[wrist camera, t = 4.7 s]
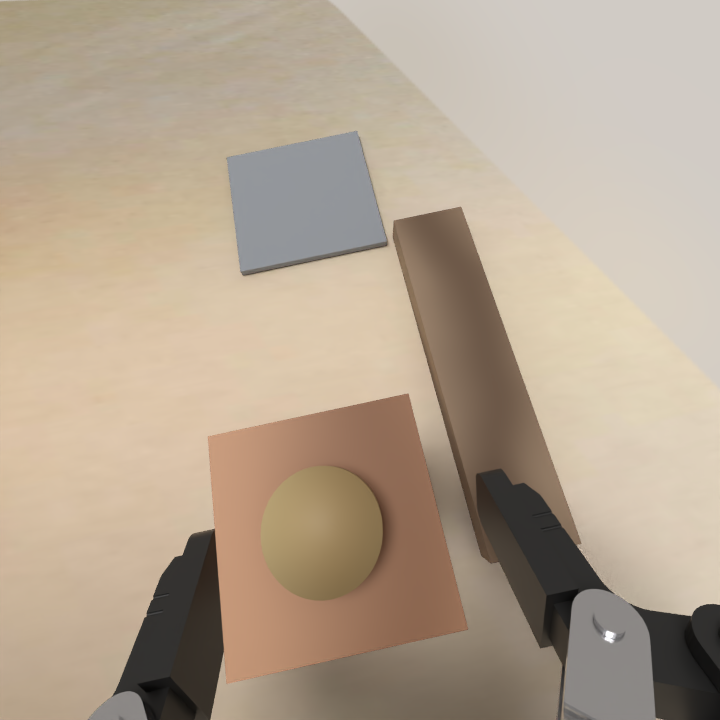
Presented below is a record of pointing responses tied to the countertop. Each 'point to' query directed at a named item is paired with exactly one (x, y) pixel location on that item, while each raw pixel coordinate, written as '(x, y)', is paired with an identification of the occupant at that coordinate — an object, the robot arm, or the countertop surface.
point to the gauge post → (328, 539)
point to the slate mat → (303, 203)
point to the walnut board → (473, 365)
